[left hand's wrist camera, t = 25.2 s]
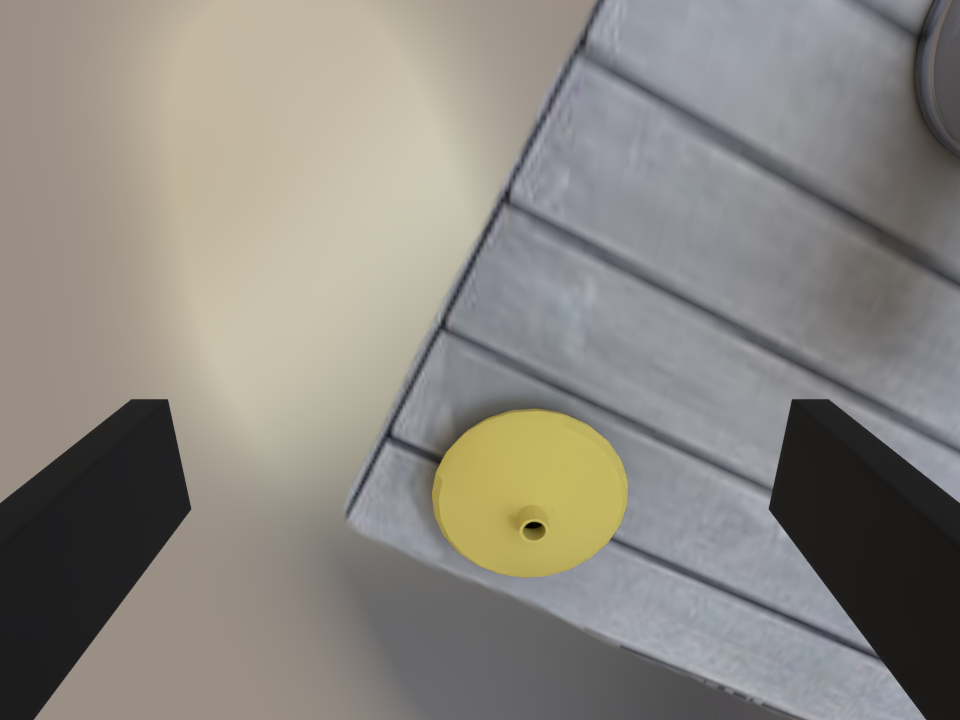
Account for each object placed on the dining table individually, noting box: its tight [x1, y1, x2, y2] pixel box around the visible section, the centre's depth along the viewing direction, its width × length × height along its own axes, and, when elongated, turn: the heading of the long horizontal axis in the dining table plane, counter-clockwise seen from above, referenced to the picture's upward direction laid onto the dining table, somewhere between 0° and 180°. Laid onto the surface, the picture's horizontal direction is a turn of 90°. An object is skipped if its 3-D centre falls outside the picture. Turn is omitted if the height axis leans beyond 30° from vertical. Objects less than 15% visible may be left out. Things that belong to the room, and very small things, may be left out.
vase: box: [432, 408, 628, 578], centre depth 47 cm, size 16×16×7 cm
